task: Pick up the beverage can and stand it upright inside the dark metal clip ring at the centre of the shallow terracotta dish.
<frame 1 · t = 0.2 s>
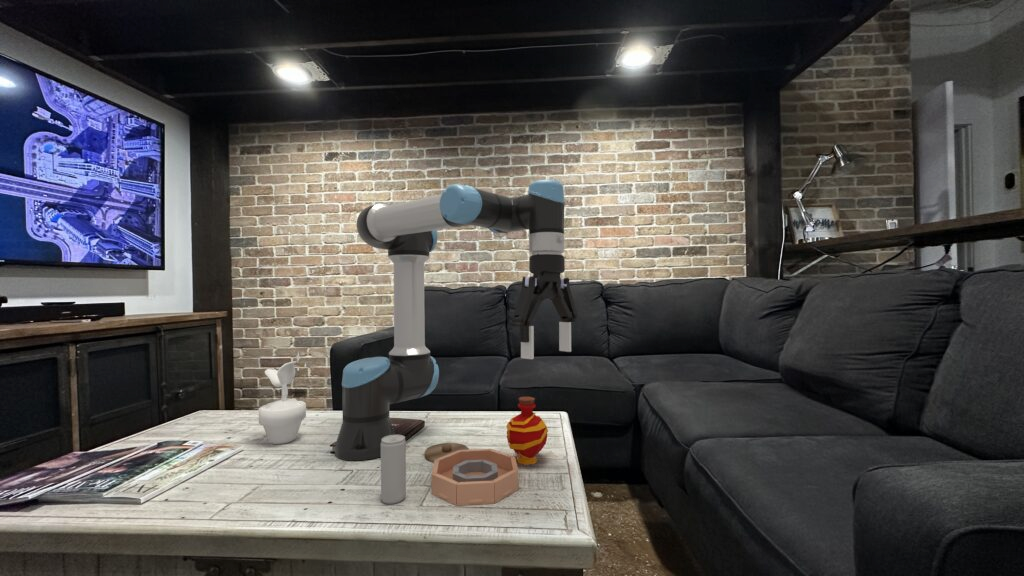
hand: (547, 354, 88), 28 cm above the table, fingers open, 13 cm apart
potted plant: (281, 441, 116), on the table
beverage can: (393, 500, 83), on the table
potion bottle: (527, 460, 102), on the table
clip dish: (475, 483, 89), on the table
walnut lid: (446, 456, 105), on the table
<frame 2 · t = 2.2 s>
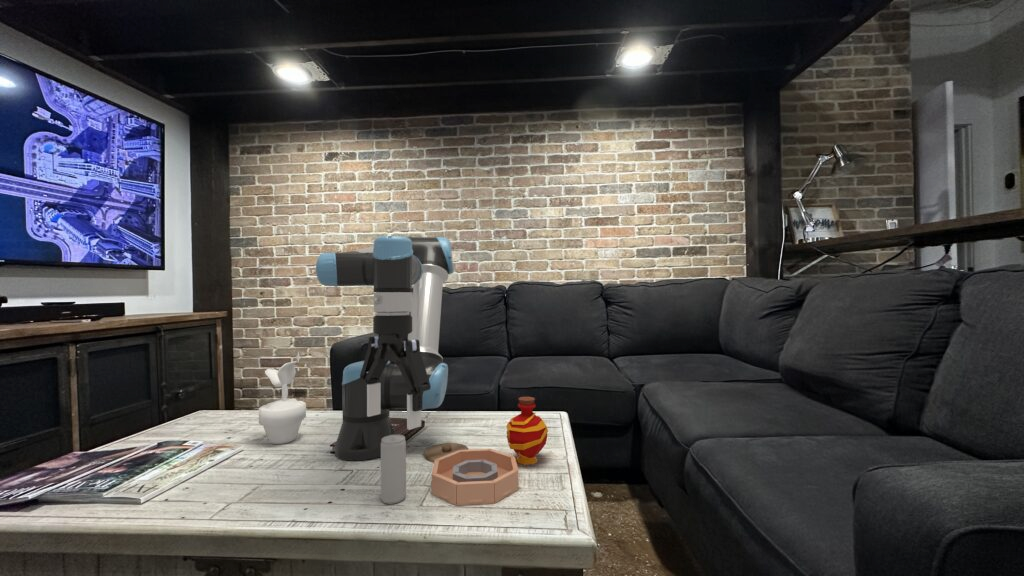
hand: (392, 421, 83), 15 cm above the table, fingers open, 13 cm apart
nothing on the table moved.
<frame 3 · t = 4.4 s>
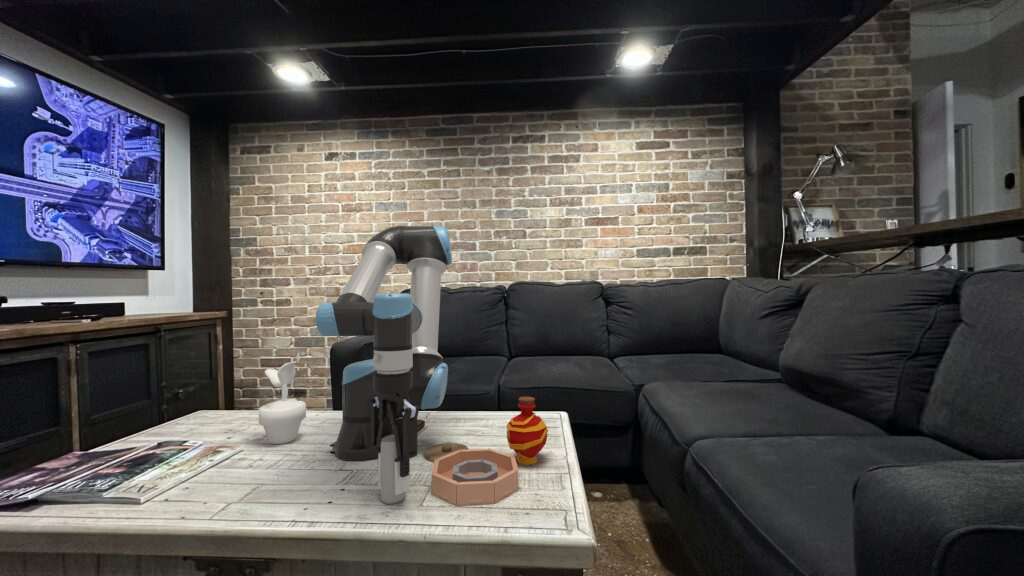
hand: (393, 487, 83), 2 cm above the table, fingers closed on beverage can, 5 cm apart
beverage can: (393, 500, 83), on the table, touching gripper
everything else where it was.
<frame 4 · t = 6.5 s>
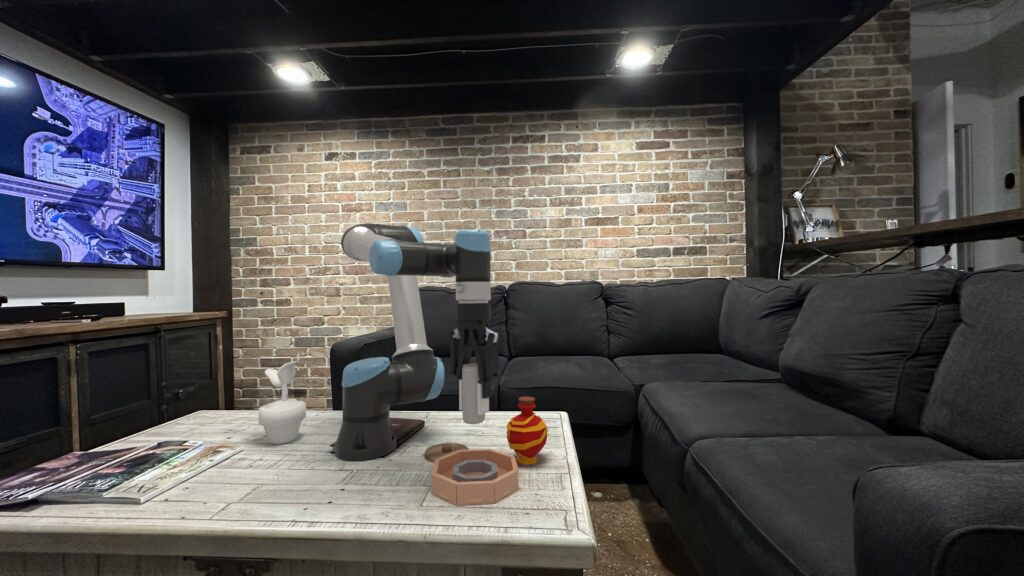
hand: (473, 410, 89), 16 cm above the table, fingers closed on beverage can, 5 cm apart
beverage can: (473, 422, 89), point 13 cm above the table, touching gripper
everything else where it was.
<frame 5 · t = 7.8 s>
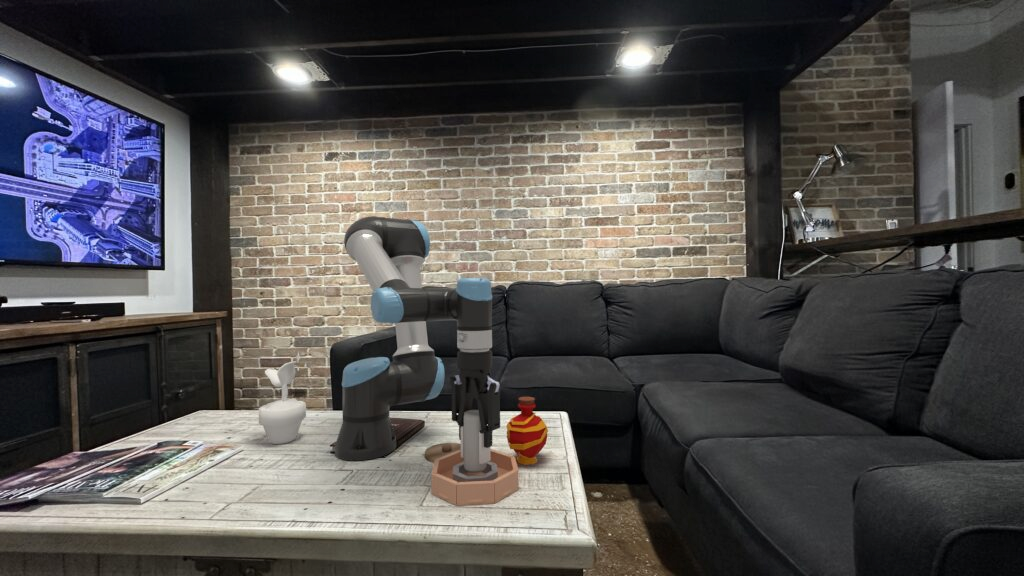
hand: (475, 458, 89), 5 cm above the table, fingers closed on beverage can, 5 cm apart
beverage can: (475, 469, 89), point 3 cm above the table, touching gripper
everything else where it was.
when the fingers open (4 cm above the table, at t = 8.7 s): beverage can stays where it is, resting on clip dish.
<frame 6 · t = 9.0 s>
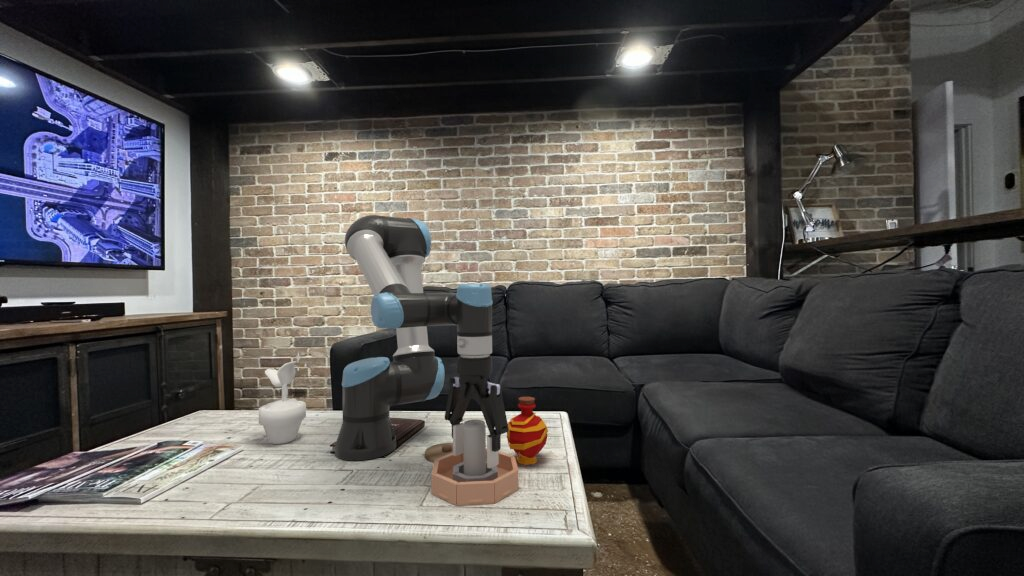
hand: (475, 459, 89), 5 cm above the table, fingers open, 9 cm apart
beverage can: (474, 479, 89), point 1 cm above the table, touching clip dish
everything else where it was.
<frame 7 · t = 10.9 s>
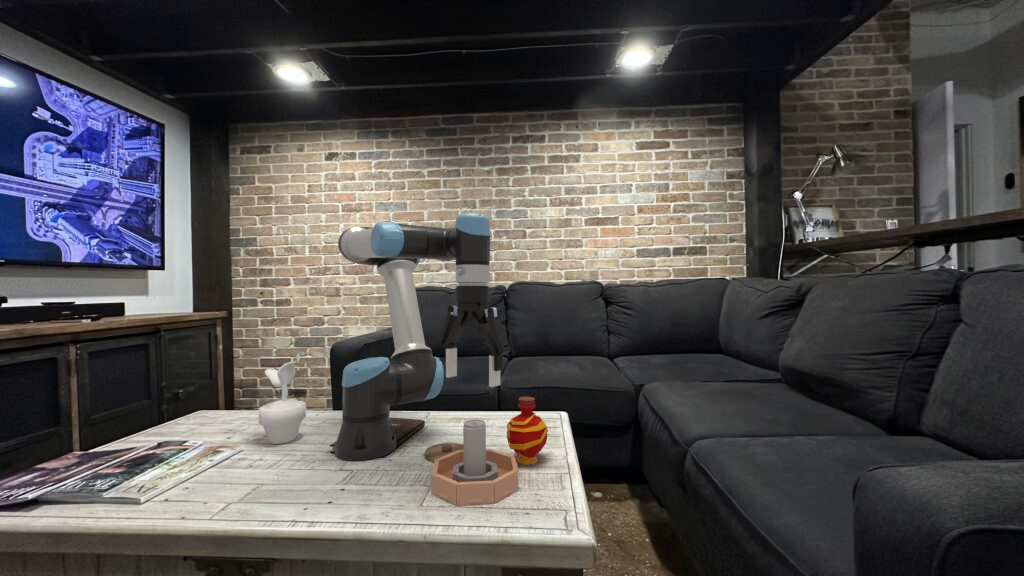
hand: (472, 381, 92), 21 cm above the table, fingers open, 13 cm apart
nothing on the table moved.
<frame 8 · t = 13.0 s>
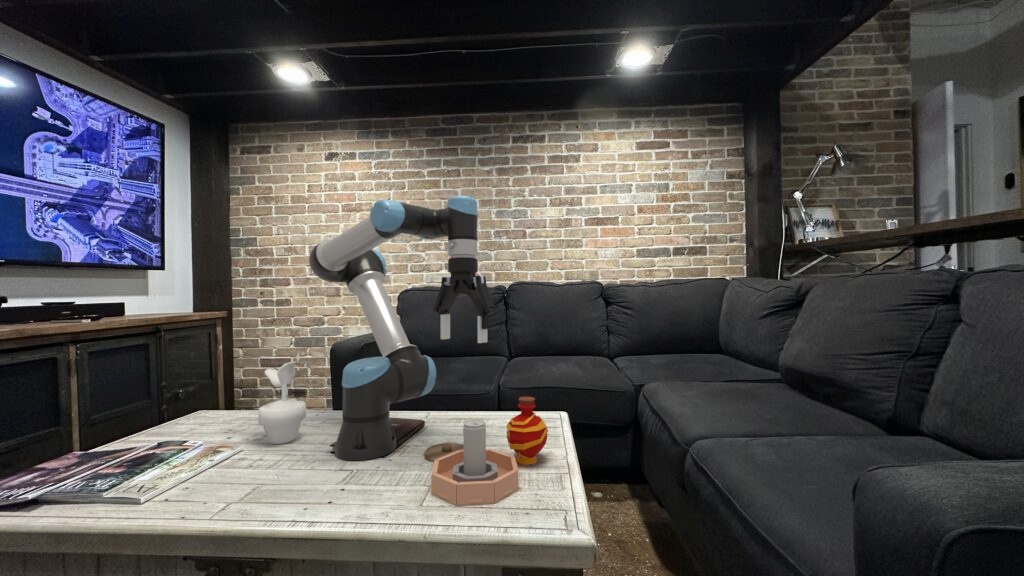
hand: (463, 340, 106), 29 cm above the table, fingers open, 13 cm apart
nothing on the table moved.
at the end: beverage can 0.1 cm from the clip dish (horizontally); beverage can tilted 0°; the gripper is holding nothing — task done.
